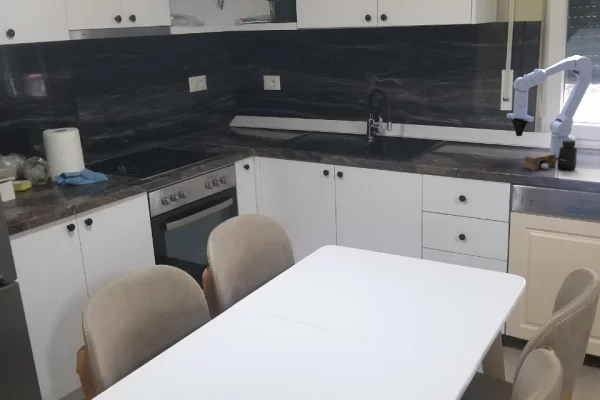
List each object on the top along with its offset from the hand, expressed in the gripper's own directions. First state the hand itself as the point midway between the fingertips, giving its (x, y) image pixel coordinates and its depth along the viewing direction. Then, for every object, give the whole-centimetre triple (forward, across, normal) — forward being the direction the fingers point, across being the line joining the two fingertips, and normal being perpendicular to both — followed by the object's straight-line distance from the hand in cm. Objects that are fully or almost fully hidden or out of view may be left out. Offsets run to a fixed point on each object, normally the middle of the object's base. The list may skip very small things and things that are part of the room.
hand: (519, 135), depth 276 cm
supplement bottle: (+10, +27, 0) cm, 29 cm away
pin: (+10, +20, -6) cm, 23 cm away
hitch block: (+10, +18, -6) cm, 21 cm away
